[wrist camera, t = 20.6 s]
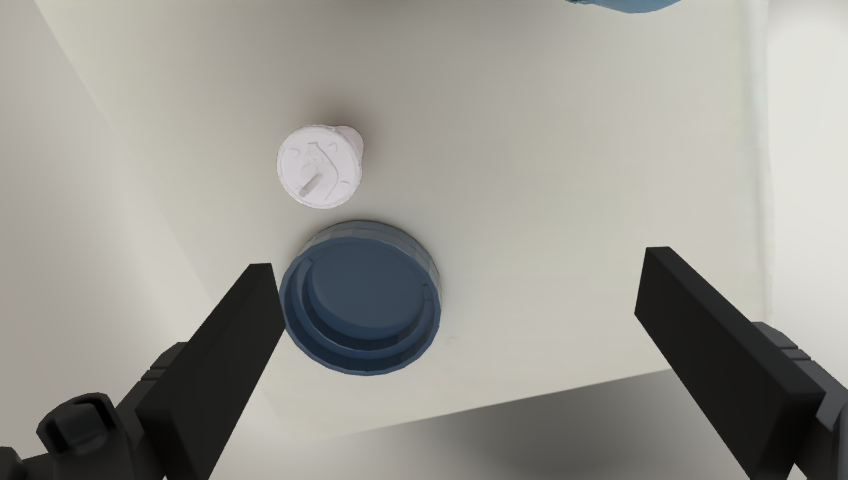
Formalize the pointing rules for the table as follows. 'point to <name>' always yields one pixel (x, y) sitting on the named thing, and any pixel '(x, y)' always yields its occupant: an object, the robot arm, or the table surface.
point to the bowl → (362, 299)
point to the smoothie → (321, 164)
